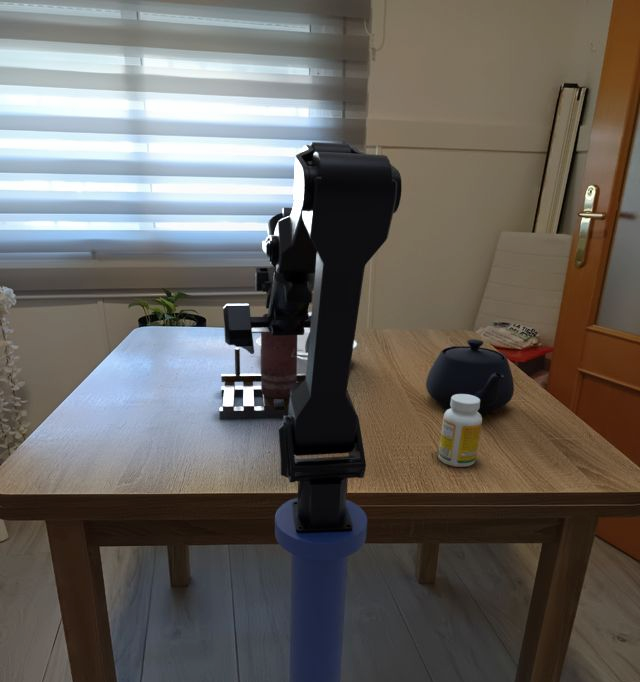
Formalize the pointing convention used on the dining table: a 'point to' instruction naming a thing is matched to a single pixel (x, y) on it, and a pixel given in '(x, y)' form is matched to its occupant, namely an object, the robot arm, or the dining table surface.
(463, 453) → the supplement bottle
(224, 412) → the dish rack
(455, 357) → the teapot
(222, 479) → the dining table surface
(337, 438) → the robot arm
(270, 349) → the can
